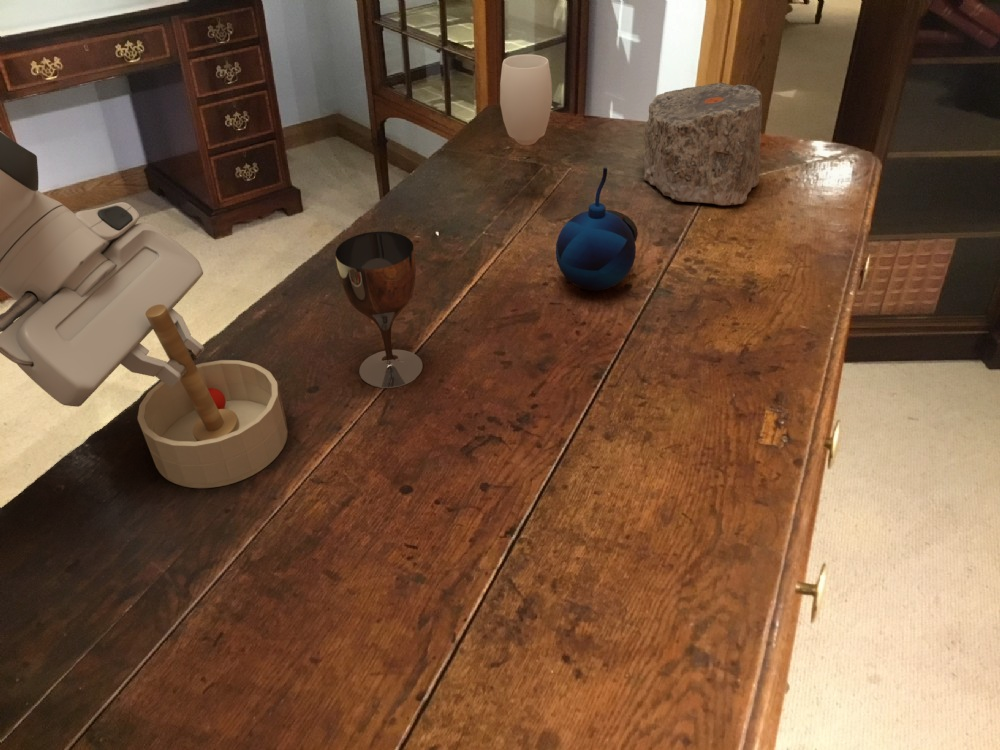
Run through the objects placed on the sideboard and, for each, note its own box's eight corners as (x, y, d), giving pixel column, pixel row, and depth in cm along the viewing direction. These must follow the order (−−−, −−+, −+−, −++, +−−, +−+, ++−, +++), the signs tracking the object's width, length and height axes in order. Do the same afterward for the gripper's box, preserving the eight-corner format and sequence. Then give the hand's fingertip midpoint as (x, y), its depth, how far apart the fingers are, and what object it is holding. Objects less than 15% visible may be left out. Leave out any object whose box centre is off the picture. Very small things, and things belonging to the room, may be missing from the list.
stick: (186, 440, 83) (119, 321, 73) (215, 410, 86) (154, 291, 76) (220, 451, 82) (156, 330, 72) (248, 420, 84) (191, 299, 74)
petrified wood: (637, 159, 139) (643, 65, 130) (745, 157, 138) (758, 63, 129) (648, 211, 124) (656, 109, 115) (769, 209, 123) (786, 106, 114)
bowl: (131, 486, 82) (114, 443, 78) (183, 399, 92) (169, 358, 89) (265, 490, 80) (253, 447, 77) (302, 402, 91) (293, 361, 88)
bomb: (650, 273, 110) (659, 163, 101) (610, 313, 103) (616, 198, 94) (583, 255, 114) (586, 148, 105) (541, 291, 107) (540, 180, 98)
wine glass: (435, 379, 93) (423, 259, 84) (365, 397, 91) (345, 276, 82) (414, 341, 99) (401, 225, 90) (347, 358, 97) (327, 240, 88)
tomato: (210, 423, 89) (189, 405, 89) (229, 405, 90) (208, 387, 90) (213, 416, 87) (192, 398, 86) (233, 398, 88) (212, 379, 88)
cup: (493, 204, 127) (487, 63, 115) (525, 187, 132) (522, 49, 119) (530, 217, 123) (528, 73, 111) (561, 200, 128) (563, 59, 115)
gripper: (-11, 312, 64) (143, 425, 68) (136, 193, 80) (254, 291, 84) (-37, 354, 68) (111, 459, 72) (109, 232, 84) (223, 324, 88)
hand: (189, 367), depth 78 cm, fingers closed on stick, 2 cm apart
